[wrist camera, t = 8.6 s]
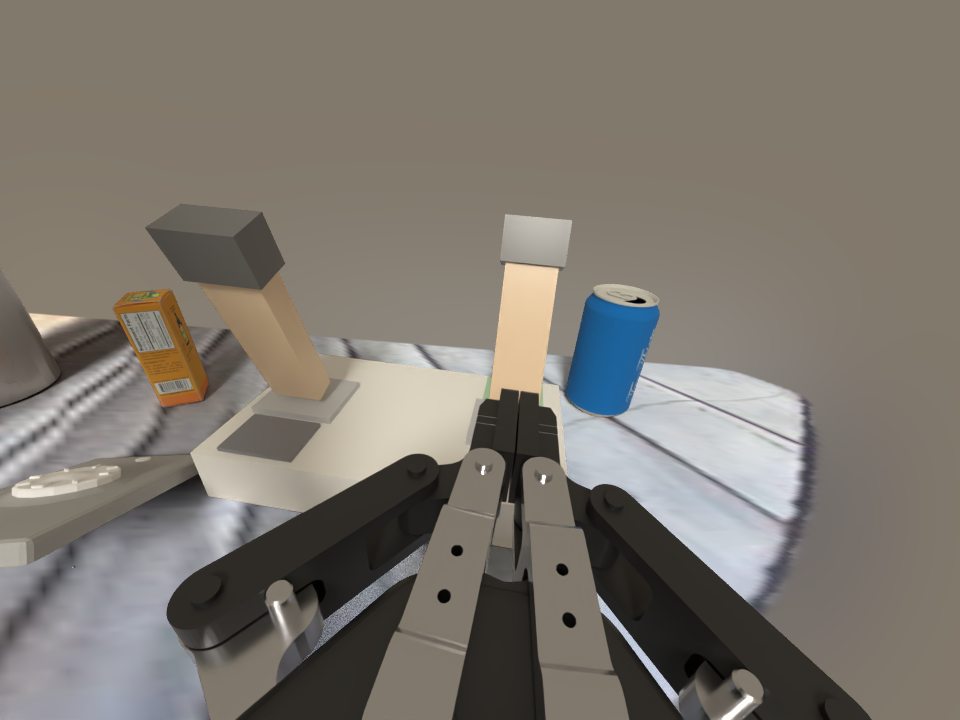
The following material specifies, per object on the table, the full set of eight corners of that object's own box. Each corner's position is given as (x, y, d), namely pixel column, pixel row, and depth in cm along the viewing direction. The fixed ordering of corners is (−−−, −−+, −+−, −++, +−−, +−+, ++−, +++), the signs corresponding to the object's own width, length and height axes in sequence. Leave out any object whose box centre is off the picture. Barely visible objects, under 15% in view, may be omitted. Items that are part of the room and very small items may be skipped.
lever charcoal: (323, 404, 27) (233, 237, 16) (267, 396, 27) (144, 227, 17) (337, 379, 28) (261, 212, 18) (284, 371, 28) (180, 203, 18)
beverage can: (610, 431, 34) (648, 312, 28) (552, 401, 38) (575, 291, 32) (637, 403, 38) (674, 296, 33) (582, 379, 42) (607, 278, 36)
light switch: (213, 442, 27) (26, 521, 14) (214, 512, 27) (29, 654, 14) (95, 447, 26) (-230, 538, 13) (96, 520, 26) (-224, 684, 13)
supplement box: (167, 390, 35) (125, 289, 30) (210, 384, 36) (176, 287, 31) (157, 409, 32) (109, 303, 27) (203, 402, 34) (165, 300, 29)
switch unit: (559, 556, 23) (572, 508, 21) (208, 496, 25) (187, 446, 23) (551, 419, 35) (559, 380, 33) (316, 386, 37) (309, 347, 35)
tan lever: (543, 417, 26) (572, 220, 24) (482, 409, 26) (505, 214, 24) (541, 408, 28) (567, 228, 26) (485, 400, 28) (506, 222, 26)
